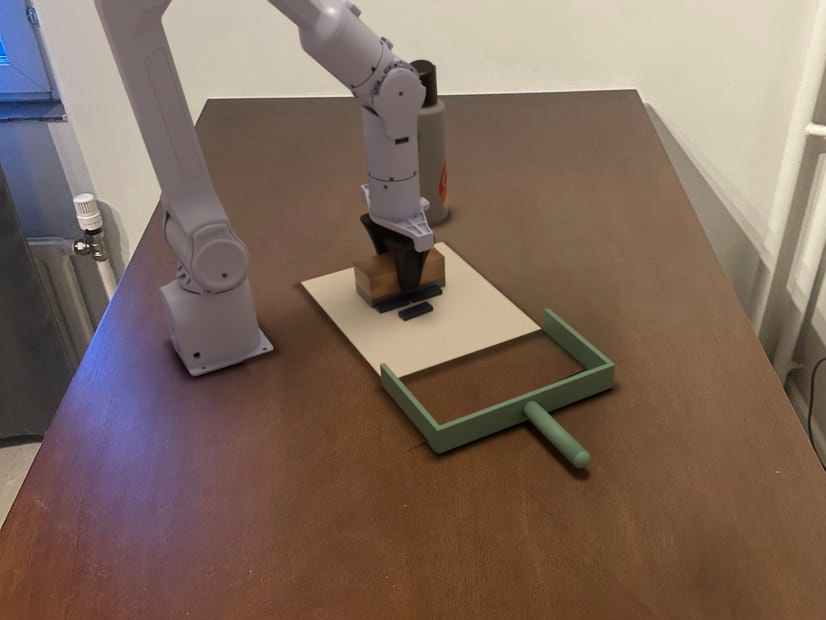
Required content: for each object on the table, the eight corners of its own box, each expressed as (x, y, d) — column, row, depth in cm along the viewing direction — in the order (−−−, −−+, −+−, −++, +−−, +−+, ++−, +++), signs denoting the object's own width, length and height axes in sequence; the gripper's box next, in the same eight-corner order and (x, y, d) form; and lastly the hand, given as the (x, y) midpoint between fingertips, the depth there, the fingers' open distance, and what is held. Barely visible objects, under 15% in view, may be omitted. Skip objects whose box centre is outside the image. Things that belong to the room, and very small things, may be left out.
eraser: (372, 308, 106) (369, 278, 103) (356, 291, 108) (352, 261, 105) (446, 286, 109) (445, 256, 106) (428, 269, 112) (427, 240, 109)
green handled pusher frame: (382, 388, 95) (379, 364, 93) (547, 331, 103) (548, 307, 101) (490, 517, 81) (490, 492, 79) (671, 440, 89) (676, 415, 87)
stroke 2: (413, 303, 106) (413, 299, 106) (407, 297, 107) (407, 293, 107) (442, 294, 108) (442, 290, 107) (436, 288, 109) (436, 284, 108)
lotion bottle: (450, 208, 125) (446, 56, 111) (445, 227, 121) (440, 72, 107) (410, 206, 125) (401, 54, 111) (403, 225, 121) (393, 71, 107)
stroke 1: (380, 314, 105) (379, 309, 104) (374, 308, 106) (374, 303, 105) (410, 304, 106) (410, 300, 106) (404, 298, 107) (404, 294, 107)
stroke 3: (404, 321, 104) (404, 317, 103) (398, 315, 104) (397, 311, 104) (433, 310, 105) (433, 306, 105) (426, 305, 106) (426, 300, 106)
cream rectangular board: (385, 385, 96) (385, 381, 95) (301, 285, 110) (300, 282, 110) (541, 332, 103) (541, 328, 102) (442, 245, 117) (442, 241, 117)
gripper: (456, 187, 95) (459, 298, 105) (395, 139, 104) (402, 245, 114) (398, 202, 93) (405, 315, 102) (340, 152, 102) (352, 260, 111)
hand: (400, 279), depth 108 cm, fingers closed on eraser, 4 cm apart
